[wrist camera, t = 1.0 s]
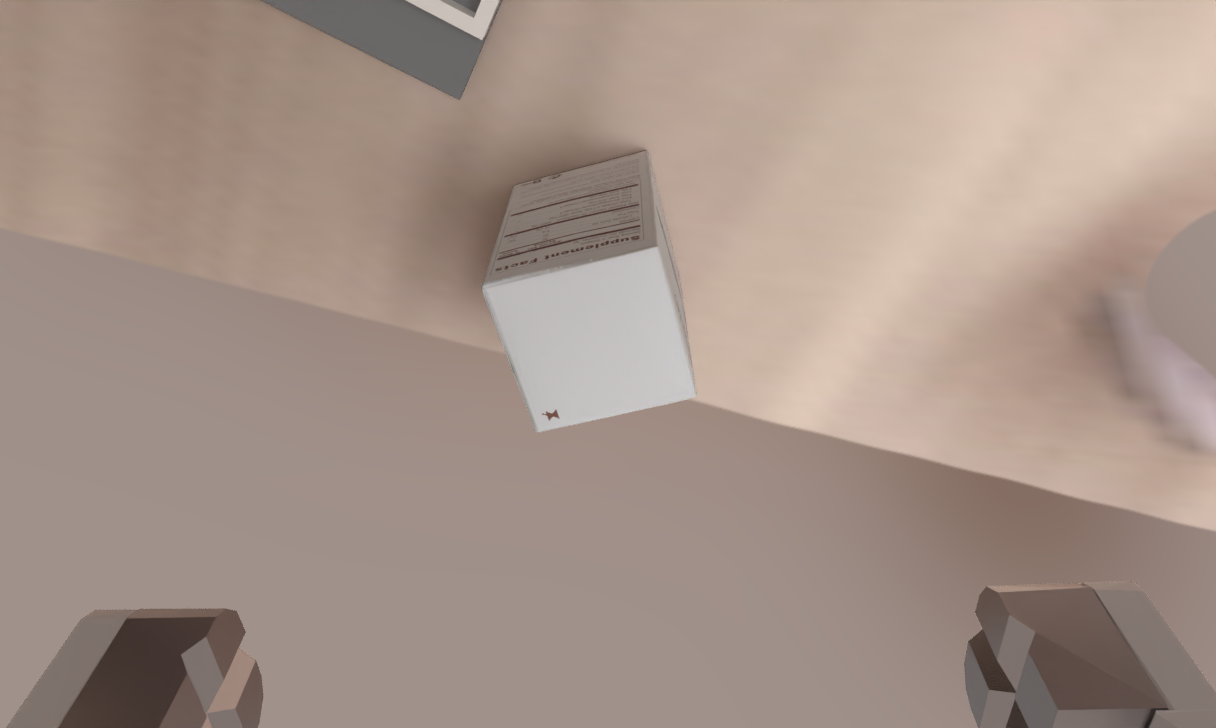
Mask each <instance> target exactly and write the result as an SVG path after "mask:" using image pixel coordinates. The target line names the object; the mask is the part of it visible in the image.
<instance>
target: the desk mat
mask: <svg viewBox="0 0 1216 728" xmlns="http://www.w3.org/2000/svg"><path fill="white" fill-rule="evenodd" d="M262 1H264V2H266V3H268V4H270V5H272V6H274V7H276V8H278V9H280V10H282V11H284V12H286V13H288V14H290V15H292V16H294V17H296V18H298V19H300V20H302V21H304V22H305V23H307V24H309V25H311V26H313V27H315V28H317V29H319V30H321V31H323V32H325V33H327V34H329V35H331V36H333V37H335V38H337V39H339V40H341V41H343V42H345V43H347V44H349V45H351V46H353V47H355V48H357V49H359V50H361V51H363V52H365V53H367V54H369V55H371V56H373V57H375V58H377V59H379V60H381V61H383V62H385V63H387V64H389V65H391V66H393V67H395V68H397V69H399V70H401V71H403V72H405V73H407V74H409V75H411V76H413V77H415V78H417V79H419V80H421V81H423V82H425V83H427V84H429V85H431V86H433V87H435V88H437V89H439V90H441V91H443V92H445V93H447V94H449V95H451V96H453V97H455V98H457V99H459V100H460V98H461V96H462V94H463V91H464V89H465V87H466V84H467V82H468V79H469V77H470V75H471V72H472V70H473V68H474V65H475V63H476V61H477V58H478V56H479V53H480V51H481V49H482V46H483V44H484V42H485V39H486V37H487V34H488V32H489V30H490V27H491V25H492V23H493V20H494V18H495V16H496V13H497V11H498V8H499V6H500V4H501V1H502V0H500V2H499V5H498V7H497V9H496V12H495V14H494V16H493V19H492V21H491V24H490V26H489V28H488V31H487V33H486V35H485V37H484V38H483V40H481V39H479V38H477V37H475V36H473V35H471V34H469V33H467V32H465V31H463V30H461V29H460V28H458V27H456V26H454V25H452V24H450V23H448V22H446V21H444V20H442V19H440V18H438V17H436V16H435V15H433V14H431V13H429V12H427V11H425V10H423V9H421V8H419V7H417V6H415V5H413V4H412V3H410V2H408V1H406V0H262ZM453 1H455V2H457V3H458V4H460V5H462V6H464V7H466V8H468V9H470V10H472V11H474V12H475V13H476V12H477V9H478V7H479V4H480V2H481V0H453Z"/></svg>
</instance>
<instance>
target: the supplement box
mask: <svg viewBox="0 0 1216 728" xmlns="http://www.w3.org/2000/svg"><path fill="white" fill-rule="evenodd" d="M482 292H483V296H484V298H485V300H486V303H487V306H488V309H489V311H490V314H491V316H492V319H493V321H494V324H495V326H496V329H497V332H498V334H499V337H500V340H501V342H502V345H503V347H504V350H505V353H506V356H507V359H508V362H509V365H510V368H511V371H512V372H513V374H514V376H515V379H516V382H517V384H518V387H519V389H520V392H521V395H522V397H523V400H524V403H525V405H526V408H527V410H528V413H529V416H530V418H531V421H532V424H533V427H534V430H535V431H536V432H538V433H539V432H543V431H547V430H552V429H556V428H561V427H566V426H570V425H575V424H579V423H584V422H588V421H593V420H597V419H602V418H607V417H611V416H615V415H620V414H625V413H629V412H633V411H638V410H642V409H647V408H651V407H656V406H661V405H665V404H670V403H674V402H679V401H683V400H687V399H691V398H694V397H696V395H697V392H696V386H695V380H694V374H693V367H692V360H691V353H690V346H689V339H688V331H687V323H686V316H685V309H684V302H683V294H682V287H681V281H680V275H679V271H678V268H677V265H676V261H675V257H674V253H673V249H672V245H671V241H670V237H669V233H668V229H667V225H666V221H665V217H664V213H663V209H662V205H661V201H660V197H659V193H658V189H657V185H656V181H655V177H654V174H653V169H652V165H651V160H650V156H649V152H648V151H642V152H639V153H636V154H632V155H628V156H624V157H620V158H616V159H613V160H608V161H605V162H601V163H597V164H593V165H589V166H585V167H582V168H578V169H574V170H570V171H566V172H562V173H558V174H555V175H551V176H547V177H543V178H539V179H536V180H532V181H528V182H524V183H521V184H517V185H515V186H514V187H513V190H512V193H511V196H510V199H509V202H508V206H507V209H506V212H505V215H504V219H503V221H502V225H501V228H500V231H499V234H498V237H497V240H496V244H495V246H494V250H493V253H492V256H491V259H490V262H489V265H488V269H487V272H486V275H485V278H484V281H483V284H482Z"/></svg>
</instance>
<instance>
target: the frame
mask: <svg viewBox="0 0 1216 728" xmlns="http://www.w3.org/2000/svg"><path fill="white" fill-rule="evenodd" d="M406 1H408V2H410V3H412V4H413V5H415V6H417V7H419V8H421V9H423V10H425V11H427V12H429V13H431V14H433V15H435V16H436V17H438V18H440V19H442V20H444V21H446V22H448V23H450V24H452V25H454V26H456V27H458V28H460V29H461V30H463V31H465V32H467V33H469V34H471V35H473V36H475V37H477V38H479V39H481V40H483V38H484V37H485V35H486V33H487V31H488V28H489V26H490V24H491V21H492V19H493V16H494V14H495V12H496V9H497V7H498V5H499V2H500V0H481V2H480V4H479V7H478V9H477V12H476V13H475V12H474V11H472V10H470V9H468V8H466V7H464V6H462V5H460V4H458V3H457V2H455V1H453V0H406Z"/></svg>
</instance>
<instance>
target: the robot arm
mask: <svg viewBox="0 0 1216 728" xmlns="http://www.w3.org/2000/svg"><path fill="white" fill-rule="evenodd" d="M975 613H976V615H977V617H978V619H979V622H980V624H981V626H982V628H983V629H982V630H981V631H980V632H979V633H978V634H977V635H975V636H974V637H973V638H972V639H971V640H969V641H968V646H967V651H966V657H965V662H964V667H965V683H966V691H967V695H968V699H969V703H970V707H971V710H972V713H973V715H974V718H975V720H976V723H977V726H978V728H1216V691H1215V690H1214V689H1213V687H1212V685H1211V684H1210V683H1209V681H1208V680H1207V678H1206V677H1205V676H1204V674H1203V673H1202V671H1201V670H1200V669H1199V667H1198V666H1197V664H1196V663H1195V662H1194V660H1193V659H1192V657H1191V656H1190V655H1189V653H1188V652H1187V650H1186V649H1185V648H1184V646H1183V645H1182V644H1181V642H1180V641H1179V639H1178V638H1177V636H1176V635H1175V634H1174V632H1173V631H1172V629H1171V628H1170V627H1169V625H1168V624H1167V622H1166V621H1165V620H1164V618H1163V617H1162V616H1161V614H1160V613H1159V611H1158V610H1157V609H1156V607H1155V606H1154V604H1153V603H1152V601H1151V600H1150V599H1149V597H1148V596H1147V594H1146V593H1145V592H1144V590H1143V589H1142V588H1141V587H1140V586H1138V585H1136V584H1135V583H1134V582H1132V581H1116V582H1089V583H1081V584H1078V583H1062V584H1061V583H1060V584H1035V585H1009V586H986V588H985V589H984V590H983V591H982V593H981V594H980V595H979V599H978V603H977V607H976V611H975ZM245 633H246V632H245V629H244V627H243V624H242V622H241V620H240V618H239V615H238V613H237V611H235V610H229V609H139V610H94V611H93V612H91V613H90V614H88V615H87V616H85V617H84V618H82V619H81V620H80V621H79V623H78V624H77V626H76V627H75V628H74V630H73V631H72V633H71V634H70V636H69V637H68V639H67V640H66V641H65V643H64V644H63V646H62V647H61V649H60V650H59V652H58V653H57V655H56V656H55V658H54V659H53V660H52V662H51V663H50V665H49V666H48V668H47V669H46V670H45V672H44V673H43V675H42V676H41V678H40V679H39V681H38V682H37V684H36V685H35V686H34V688H33V689H32V691H31V692H30V694H29V695H28V697H27V698H26V699H25V701H24V702H23V704H22V705H21V707H20V708H19V710H18V711H17V713H16V714H15V715H14V717H13V719H12V720H11V722H10V723H9V724H8V726H7V727H6V728H258V725H259V722H260V715H261V708H262V701H263V687H262V677H261V673H260V670H259V667H258V665H257V662H256V660H255V659H254V658H252V657H251V656H250V655H248V654H247V653H246V652H244V651H243V650H241V649H240V648H239V646H240V644H241V641H242V639H243V637H244V635H245Z"/></svg>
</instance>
